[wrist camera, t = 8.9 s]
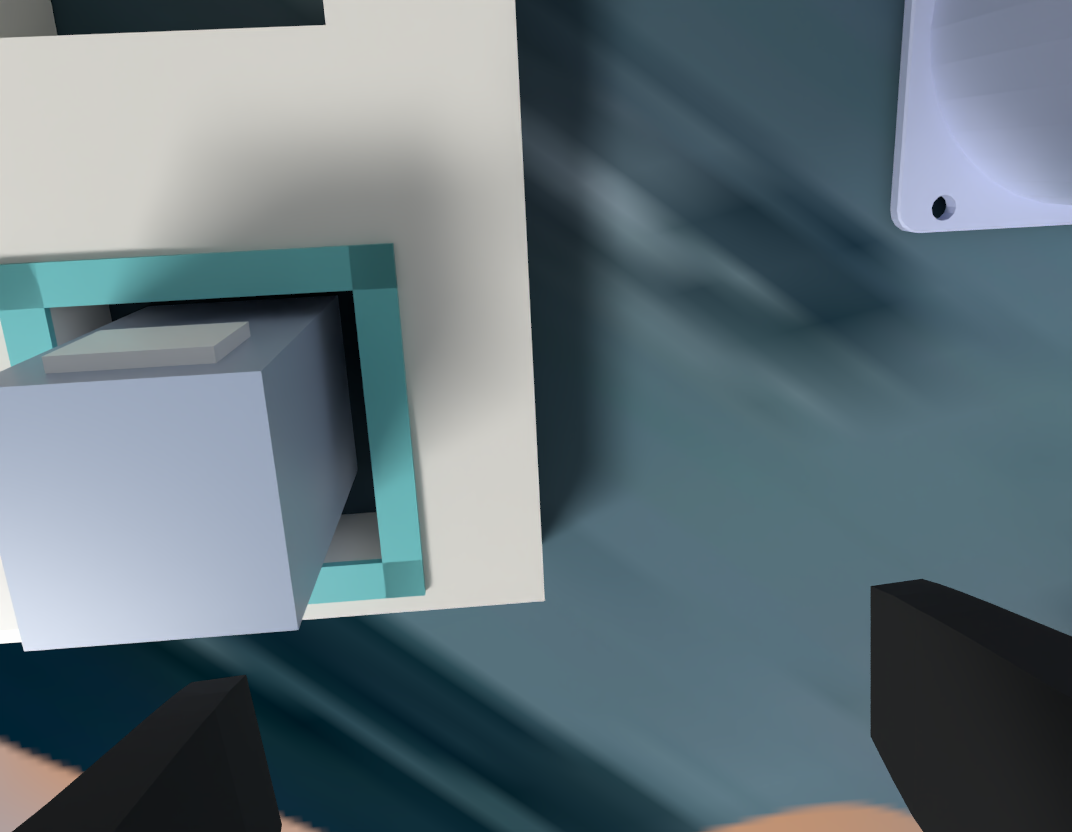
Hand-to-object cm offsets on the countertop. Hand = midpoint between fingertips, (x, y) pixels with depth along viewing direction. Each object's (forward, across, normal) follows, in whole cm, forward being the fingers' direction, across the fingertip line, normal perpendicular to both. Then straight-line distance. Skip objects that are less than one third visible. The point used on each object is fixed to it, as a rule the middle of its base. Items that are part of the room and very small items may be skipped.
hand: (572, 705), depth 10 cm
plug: (+10, +6, -2) cm, 12 cm away
